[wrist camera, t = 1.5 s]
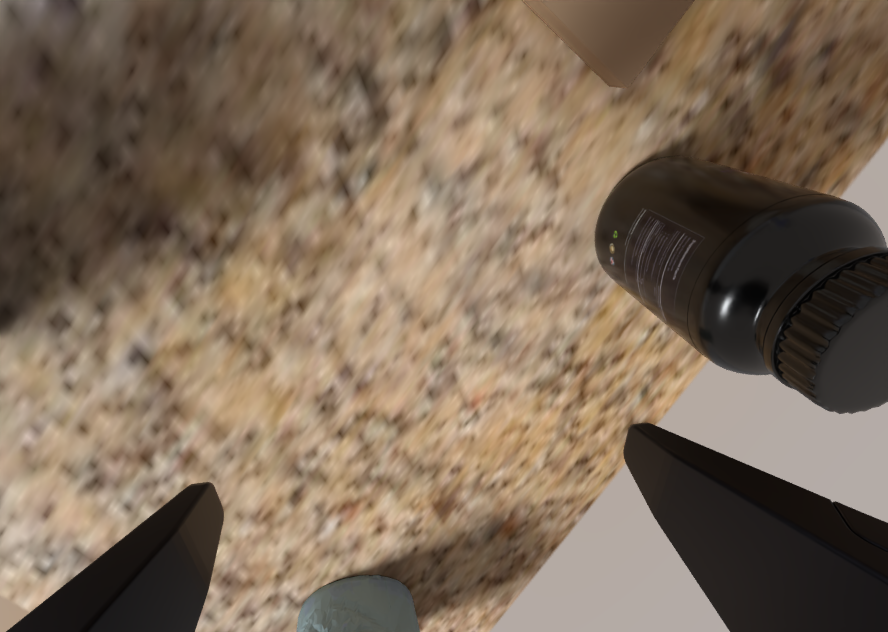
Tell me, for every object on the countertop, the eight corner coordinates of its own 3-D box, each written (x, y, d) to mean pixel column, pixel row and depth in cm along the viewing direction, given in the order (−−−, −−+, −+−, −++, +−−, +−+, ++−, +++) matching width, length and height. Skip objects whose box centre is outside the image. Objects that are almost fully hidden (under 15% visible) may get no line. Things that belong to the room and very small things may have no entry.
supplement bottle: (727, 142, 22) (1067, 216, 12) (701, 271, 25) (945, 417, 15) (592, 163, 21) (827, 262, 11) (584, 293, 24) (757, 462, 14)
